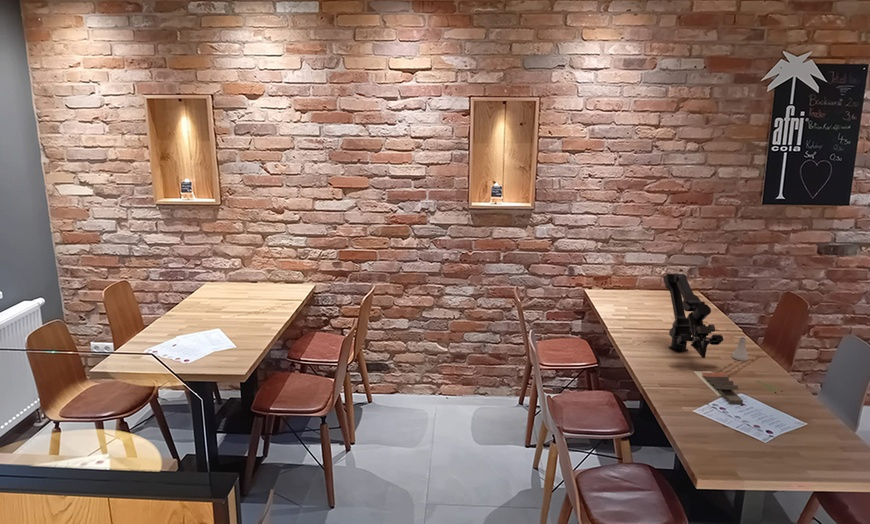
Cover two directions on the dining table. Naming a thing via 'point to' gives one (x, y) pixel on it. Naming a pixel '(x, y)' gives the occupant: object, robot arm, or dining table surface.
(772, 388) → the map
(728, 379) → the domino
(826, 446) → the dining table surface
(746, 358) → the flask
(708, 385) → the strip
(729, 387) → the domino
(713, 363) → the dining table surface
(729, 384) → the domino
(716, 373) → the domino
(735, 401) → the domino
